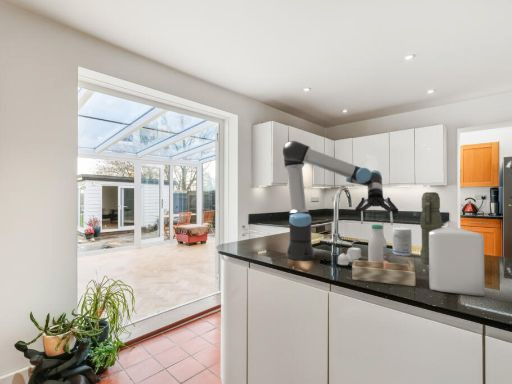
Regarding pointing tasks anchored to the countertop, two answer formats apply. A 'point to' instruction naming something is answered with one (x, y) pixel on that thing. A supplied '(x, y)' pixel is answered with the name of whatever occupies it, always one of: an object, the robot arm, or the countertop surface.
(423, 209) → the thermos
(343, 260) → the container set
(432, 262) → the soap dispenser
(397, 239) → the supplement tub
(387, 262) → the pusher
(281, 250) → the countertop surface
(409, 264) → the wooden box
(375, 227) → the milk bottle
